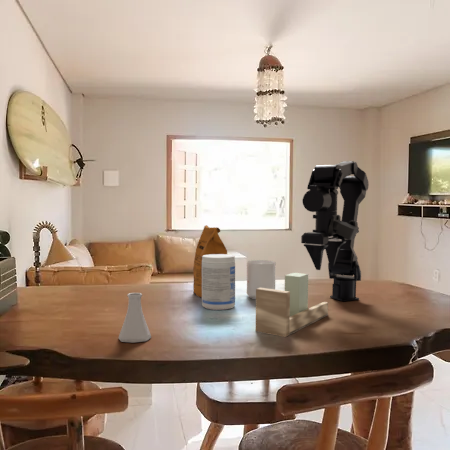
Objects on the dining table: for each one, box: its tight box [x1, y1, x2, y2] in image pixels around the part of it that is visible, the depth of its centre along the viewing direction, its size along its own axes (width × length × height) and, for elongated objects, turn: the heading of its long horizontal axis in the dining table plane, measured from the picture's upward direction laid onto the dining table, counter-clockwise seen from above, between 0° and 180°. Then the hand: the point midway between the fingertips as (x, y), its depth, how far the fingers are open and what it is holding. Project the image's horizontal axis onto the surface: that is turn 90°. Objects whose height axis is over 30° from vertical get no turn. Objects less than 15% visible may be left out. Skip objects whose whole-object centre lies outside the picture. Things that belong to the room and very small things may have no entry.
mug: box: [246, 259, 277, 300], centre depth 149 cm, size 12×9×11 cm
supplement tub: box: [201, 253, 236, 311], centre depth 134 cm, size 10×10×15 cm
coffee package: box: [192, 225, 228, 299], centre depth 150 cm, size 10×12×22 cm
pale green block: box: [284, 272, 309, 317], centre depth 118 cm, size 5×4×12 cm
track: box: [255, 288, 329, 338], centre depth 117 cm, size 24×8×10 cm, turn 145°
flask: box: [118, 292, 152, 344], centre depth 104 cm, size 7×7×10 cm
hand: (325, 267), depth 129 cm, fingers open, 9 cm apart
